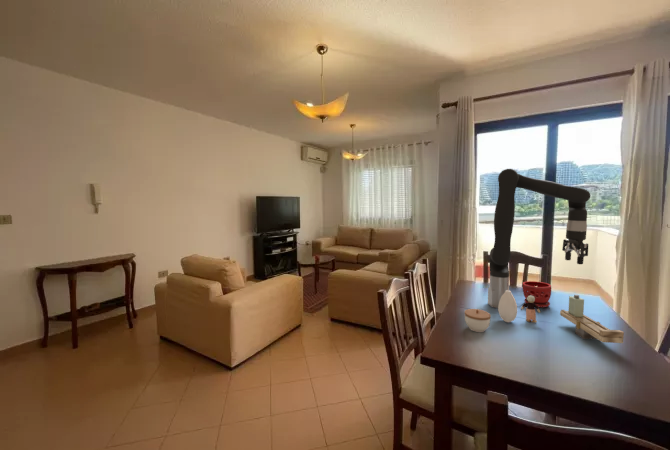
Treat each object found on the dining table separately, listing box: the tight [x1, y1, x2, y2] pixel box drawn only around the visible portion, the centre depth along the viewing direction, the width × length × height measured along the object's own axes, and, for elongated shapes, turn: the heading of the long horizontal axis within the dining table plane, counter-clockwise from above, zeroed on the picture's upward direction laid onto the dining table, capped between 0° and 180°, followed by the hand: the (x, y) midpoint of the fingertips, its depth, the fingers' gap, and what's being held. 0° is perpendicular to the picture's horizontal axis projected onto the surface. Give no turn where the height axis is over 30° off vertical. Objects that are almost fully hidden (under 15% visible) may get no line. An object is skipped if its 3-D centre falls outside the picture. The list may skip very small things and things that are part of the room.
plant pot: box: [522, 280, 552, 308], centre depth 157 cm, size 13×13×12 cm
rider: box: [567, 294, 585, 317], centre depth 128 cm, size 4×4×9 cm
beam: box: [559, 309, 625, 344], centre depth 121 cm, size 8×26×8 cm, turn 171°
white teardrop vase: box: [497, 285, 518, 323], centre depth 136 cm, size 8×8×18 cm
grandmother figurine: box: [520, 296, 541, 323], centre depth 137 cm, size 8×4×13 cm, turn 65°
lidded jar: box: [464, 308, 492, 333], centre depth 130 cm, size 11×11×9 cm
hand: (573, 262), depth 139 cm, fingers open, 8 cm apart
